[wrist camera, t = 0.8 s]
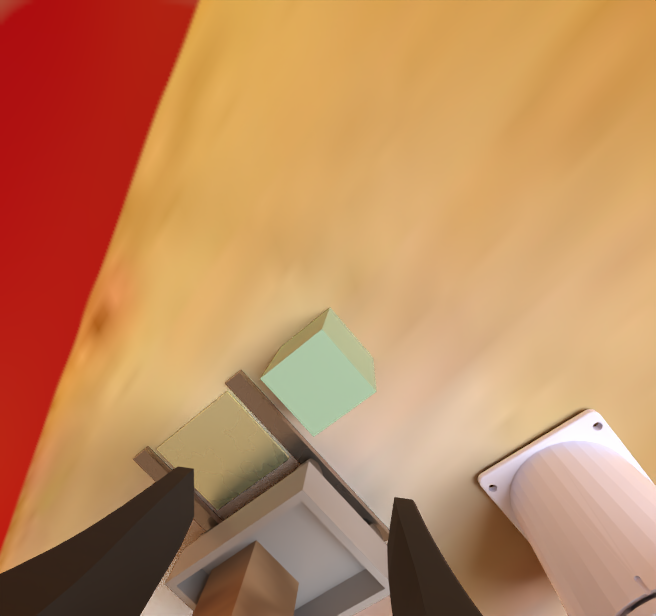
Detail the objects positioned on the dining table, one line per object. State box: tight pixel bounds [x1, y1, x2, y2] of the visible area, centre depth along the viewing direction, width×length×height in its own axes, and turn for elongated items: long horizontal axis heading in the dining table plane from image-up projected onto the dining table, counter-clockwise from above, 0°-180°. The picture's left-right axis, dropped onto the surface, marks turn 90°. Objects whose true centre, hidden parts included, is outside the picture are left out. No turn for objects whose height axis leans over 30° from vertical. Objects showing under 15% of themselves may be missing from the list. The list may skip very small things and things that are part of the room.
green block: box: [260, 308, 376, 437], centre depth 19 cm, size 4×4×4 cm
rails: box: [133, 370, 389, 542], centre depth 24 cm, size 15×10×1 cm
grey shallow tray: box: [165, 459, 390, 616], centre depth 22 cm, size 8×11×4 cm
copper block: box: [192, 540, 299, 616], centre depth 20 cm, size 4×4×4 cm
